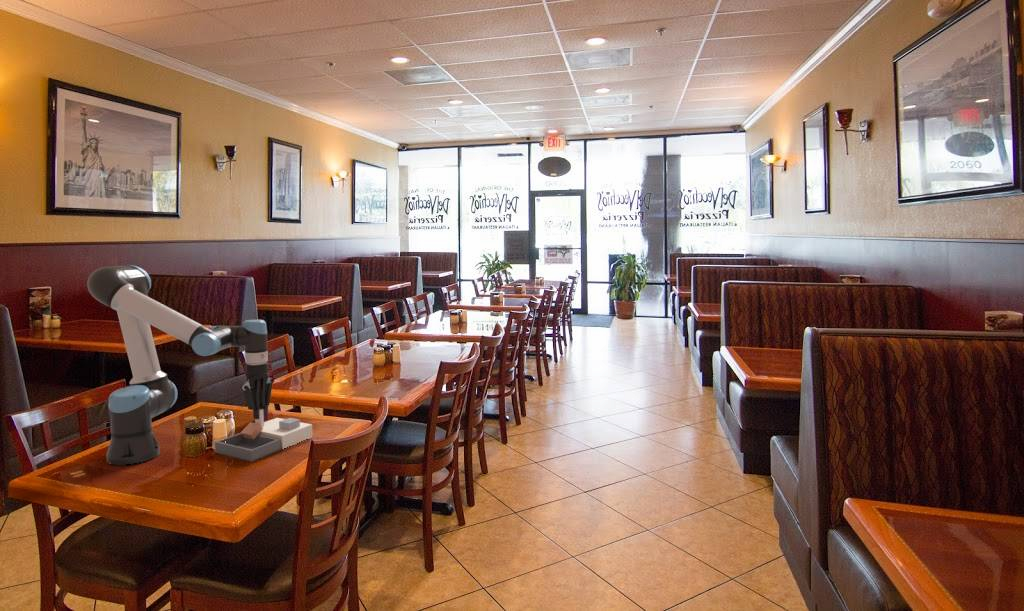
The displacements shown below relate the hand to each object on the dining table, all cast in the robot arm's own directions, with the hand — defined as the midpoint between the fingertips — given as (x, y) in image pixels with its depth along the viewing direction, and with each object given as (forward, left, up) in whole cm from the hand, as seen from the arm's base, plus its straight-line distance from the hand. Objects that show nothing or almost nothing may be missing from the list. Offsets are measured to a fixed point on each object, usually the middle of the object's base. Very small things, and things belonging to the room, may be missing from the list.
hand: (259, 426), depth 212 cm
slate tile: (+8, +6, -1) cm, 10 cm away
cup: (-21, +18, -6) cm, 28 cm away
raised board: (+4, +5, -6) cm, 9 cm away
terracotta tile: (0, -3, -2) cm, 3 cm away
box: (+4, -9, -6) cm, 11 cm away
